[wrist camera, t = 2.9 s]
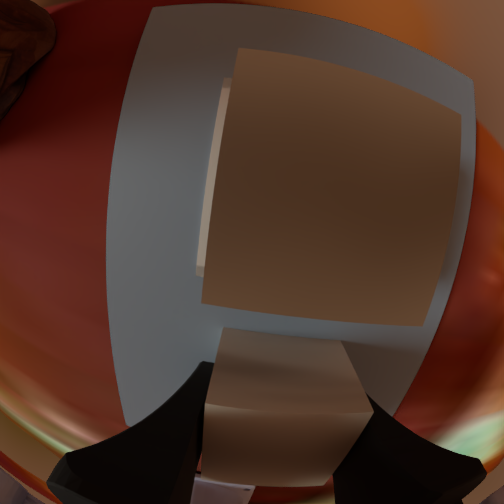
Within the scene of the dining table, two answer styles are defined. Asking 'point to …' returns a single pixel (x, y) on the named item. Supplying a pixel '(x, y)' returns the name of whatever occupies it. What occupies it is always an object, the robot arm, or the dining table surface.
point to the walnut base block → (330, 194)
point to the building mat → (202, 187)
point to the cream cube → (280, 410)
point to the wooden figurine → (21, 45)
